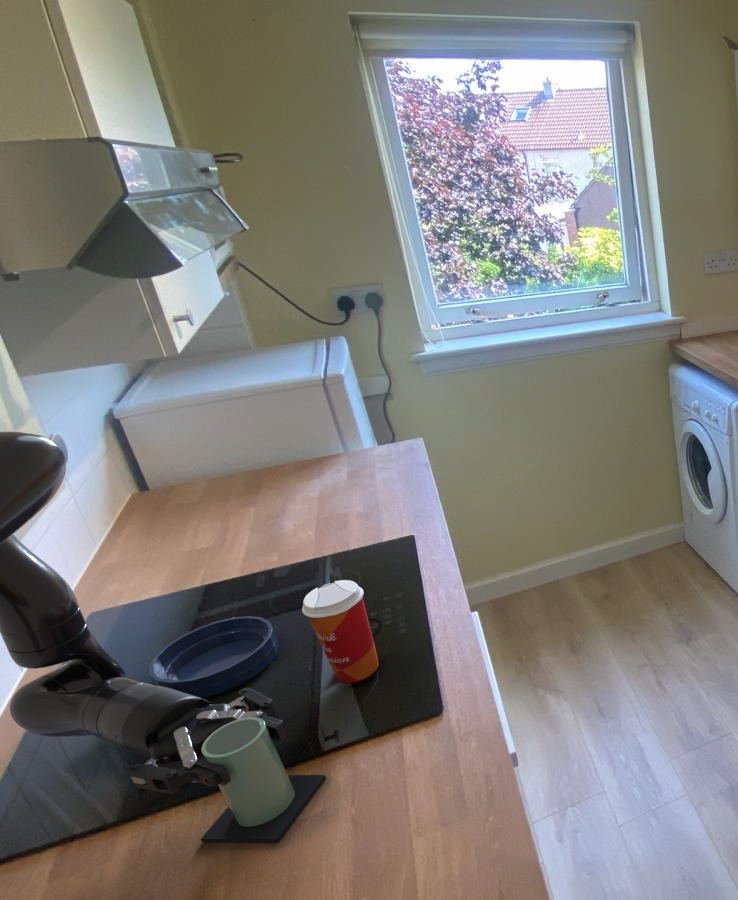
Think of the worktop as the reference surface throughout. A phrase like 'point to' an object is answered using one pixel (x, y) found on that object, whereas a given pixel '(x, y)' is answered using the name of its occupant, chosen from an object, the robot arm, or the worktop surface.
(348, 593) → the paper cup
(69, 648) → the robot arm
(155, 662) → the bowl
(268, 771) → the cup
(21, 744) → the worktop surface
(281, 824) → the mat
